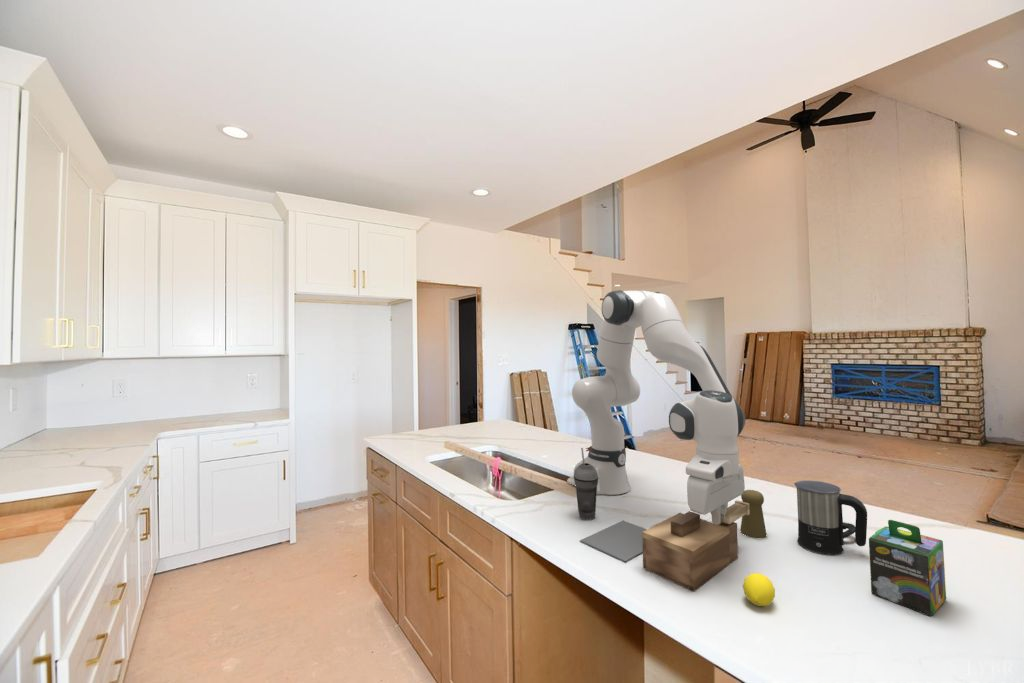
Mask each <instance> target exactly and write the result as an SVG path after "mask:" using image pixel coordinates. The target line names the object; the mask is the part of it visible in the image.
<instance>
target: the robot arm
mask: <svg viewBox="0 0 1024 683" xmlns="http://www.w3.org/2000/svg"><path fill="white" fill-rule="evenodd" d="M601 315H602V317H603V322H602V326H601V329H600V333H599V338H598V346H597V350H596V359H597V360H598V362H599V363H600V364H601V365H603V367H605V374H604V375H597V376H588V377H584V378H581V379H578V380H576V381H575V383H574V384H573V386H572V389H571V390H572V391H571V397H572V399H573V402H574V403H575V405H576V406H577V407H578V408H580V409H581V410H582V412H584V414H585V415H586V416H587V419H588V422H589V426H590V427H589V428H590V435H591V437H590V438H591V445H590V446H589V447H586V448H585V449H586V450H585V452H588V454H587V456H585V457H584V461H585V463H588V464H591V465H592V466H594V468H595V469H596V471H597V473H598V478H599V479H598V485H597V495H610V496H611V495H612V496H614V495H623V494H626V493H628V492H629V491H630V490H631V487H630V483H629V479H628V474H627V468H626V460H627V453H626V452H627V450H626V447H625V431H624V430H625V429H624V425H623V423H622V422H621V421H620V420H619V419H617V418H615V417H614V416H613V413H612V410H611V409H612V408H614V407H615V408H616V407H623V406H628V405H630V404H632V403H635V402H637V401H638V399H639V398H640V395H641V386H640V383H639V382H638V379H637V378H635V376H634V375H633V373H632V371H631V357H632V350H633V346H634V340H635V335H636V334H635V333H636V329H637V328H638V327H641V331H642V334H643V338H644V339H643V340H644V341H645V345H646V347H647V350H648V352H649V353H650V354H651V355H652V356H653V357H654V358H656V359H658V360H659V361H662V362H663V363H667V364H669V365H670V364H671V365H674V366H678V367H679V368H682V369H684V370H686V371H688V372H690V373H691V374H692V375H693V376H694V377H695V378H696V380H697V382H698V384H699V387H700V388H701V390H702V391H699V392H698V393H697V394H696V396H695V397H693V398H691V399H688V400H684V401H680V402H677V403H675V404H674V405H673V406H672V407H671V408H670V411H669V413H668V424H669V429H670V431H671V432H672V434H674V435H675V437H676V438H678V439H680V440H685V441H695V443H696V446H695V448H696V449H695V452H696V453H695V454H694V455H693V457H692V458H691V460H690V461H689V462H688V463H687V464H686V465H685V473H686V475H688V478H687V484H686V488H687V489H686V490H687V491H686V493H687V495H686V496H687V505H688V508H689V509H690V510H689V511H690V512H694V513H697V514H700V515H703V516H704V515H705V516H706V515H708V514H709V513H710V515H711V523H714V524H717V525H719V524H721V523H722V522H724V521H725V514H726V511H727V508H728V507H729V502H731V501H732V500H735V499H736V498H739V497H741V495H742V494H743V493H744V491H745V489H746V488H745V484H746V483H745V476H744V467H743V466H742V465H741V464H740V452H739V447H738V443H737V439H738V437H739V435H740V434H741V433H742V431H743V430H744V428H745V425H746V416H745V412H744V410H743V408H742V406H741V405H740V404H739V403H738V401H737V400H736V399H735V398H734V397H733V396H732V394H731V392H730V390H729V388H728V386H727V385H726V383H725V381H724V380H723V378H722V376H721V374H720V372H719V371H718V369H717V367H716V365H715V363H714V362H713V360H712V358H711V357H710V354H708V352H707V350H706V349H705V348H704V347H703V346H701V345H700V344H699V343H697V342H696V340H694V338H693V337H692V336H691V334H690V333H689V332H688V330H687V328H686V326H685V324H684V320H683V319H682V316H681V314H680V312H679V310H678V308H677V306H676V304H675V303H674V302H673V300H672V298H671V297H670V296H669V295H667V294H665V293H662V292H658V291H648V290H641V289H640V290H639V289H638V290H621V289H619V290H613V291H610V292H607V294H605V296H604V298H603V299H602V303H601ZM580 464H583V459H582V460H581V461H579V462H578V463H577V464H576V465H575V466H574V469H573V473H574V472H575V470H576V468H577V467H578V466H579V465H580ZM573 477H574V475H572V476H569V478H567V480H566V483H567V484H569V485H571V484H572V485H571V486H573V485H575V481H574V478H573Z"/></svg>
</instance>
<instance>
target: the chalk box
mask: <svg viewBox="0 0 1024 683" xmlns="http://www.w3.org/2000/svg"><path fill="white" fill-rule="evenodd" d="M887 524H888V526H884V527H882V528H880V529H878V530H876V531H875V532H874V534H873V535H871V536H869V538H868V550H869V551H868V552H869V571H870V573H869V574H870V589H871V591H870V592H871V595H875V596H877V597H881V599H882V598H883V599H885V600H887V601H890V602H893V603H896V604H898V605H901V606H903V607H906V608H908V609H910V610H913V611H915V612H918V613H920V614H924V615H925V616H928V617H932V616H934V614H935V613H937V611H938V609H940V608H941V606H942V605H943V604H944V602H946V600H947V589H946V572H945V570H946V569H945V556H944V555H945V554H944V553H945V552H944V541H943V540H942V539H939V538H936V537H935V538H934V537H931V536H928V535H927V536H926V535H922V534H921V529H920V527H918V526H917V525H913V524H911V523H910V524H909V523H905V522H901V521H898V520H894V519H888V520H887ZM898 528H899V529H898ZM900 528H903V529H900ZM904 529H907V530H904Z"/></svg>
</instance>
